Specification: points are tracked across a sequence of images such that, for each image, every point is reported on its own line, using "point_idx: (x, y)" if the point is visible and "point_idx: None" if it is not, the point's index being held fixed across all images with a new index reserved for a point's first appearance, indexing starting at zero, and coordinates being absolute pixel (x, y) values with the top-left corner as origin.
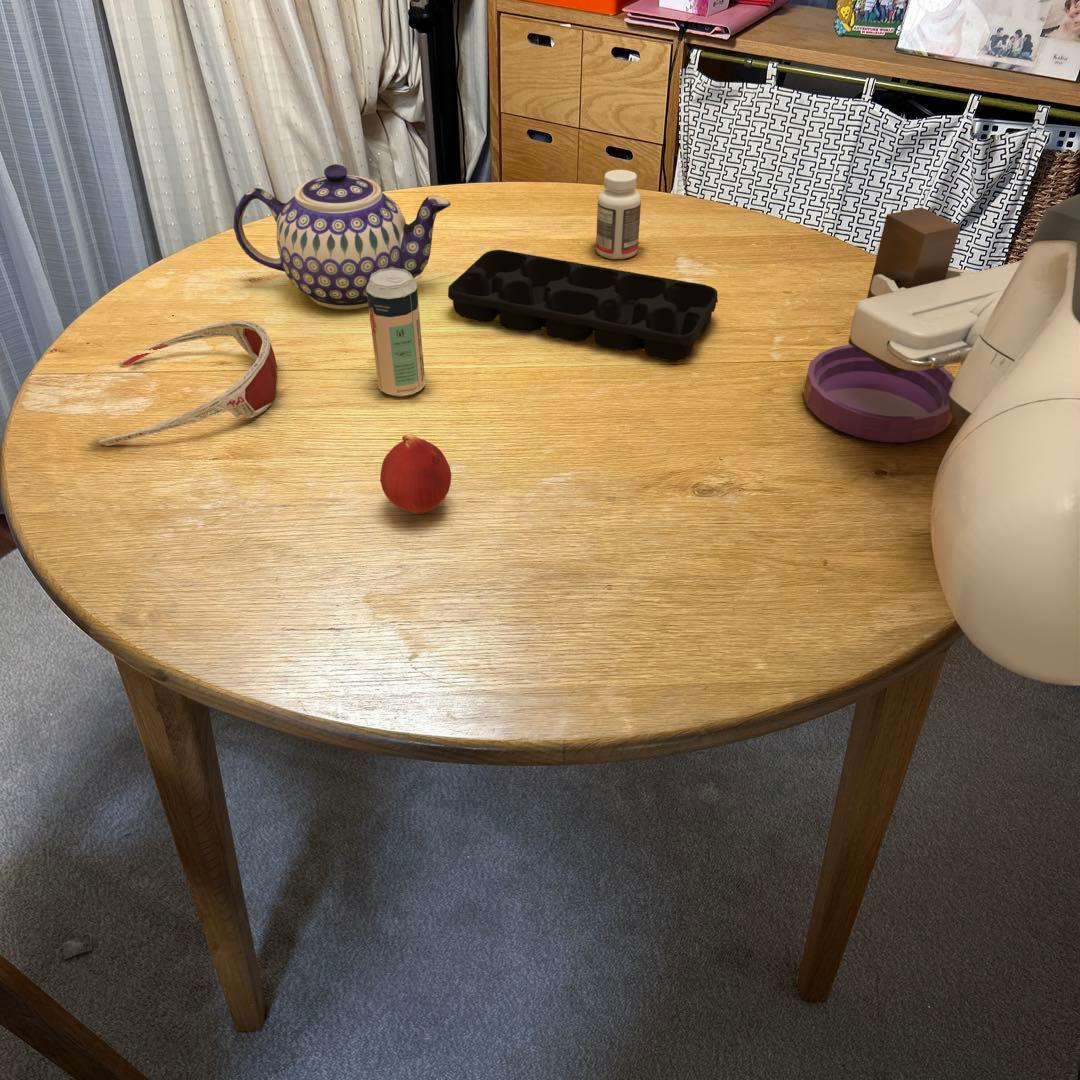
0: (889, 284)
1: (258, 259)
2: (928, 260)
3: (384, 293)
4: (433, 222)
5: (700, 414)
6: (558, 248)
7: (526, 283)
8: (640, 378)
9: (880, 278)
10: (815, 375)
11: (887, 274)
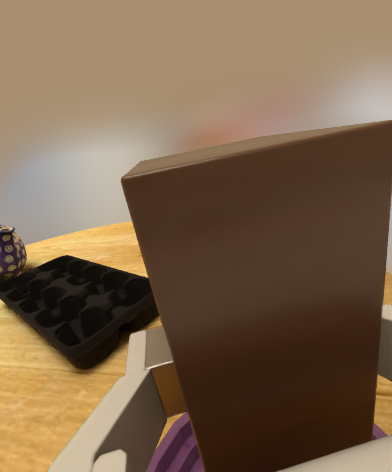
0: (102, 403)
1: None
2: (239, 315)
3: None
4: (7, 242)
5: None
6: (128, 250)
7: (45, 280)
8: (27, 394)
9: (128, 351)
10: (185, 445)
11: (162, 333)
